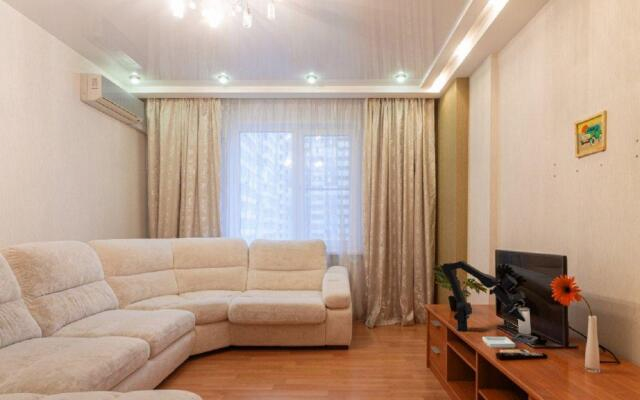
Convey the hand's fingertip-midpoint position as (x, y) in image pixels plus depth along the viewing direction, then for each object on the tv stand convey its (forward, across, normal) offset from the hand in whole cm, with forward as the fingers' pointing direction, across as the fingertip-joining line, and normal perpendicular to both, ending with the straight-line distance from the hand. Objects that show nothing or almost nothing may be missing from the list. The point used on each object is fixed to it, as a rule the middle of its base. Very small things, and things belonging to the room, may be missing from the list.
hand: (526, 320), depth 200 cm
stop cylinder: (+4, 0, +6) cm, 7 cm away
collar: (+7, 0, +9) cm, 11 cm away
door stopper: (-4, +26, +20) cm, 33 cm away
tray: (+1, -14, +15) cm, 20 cm away
